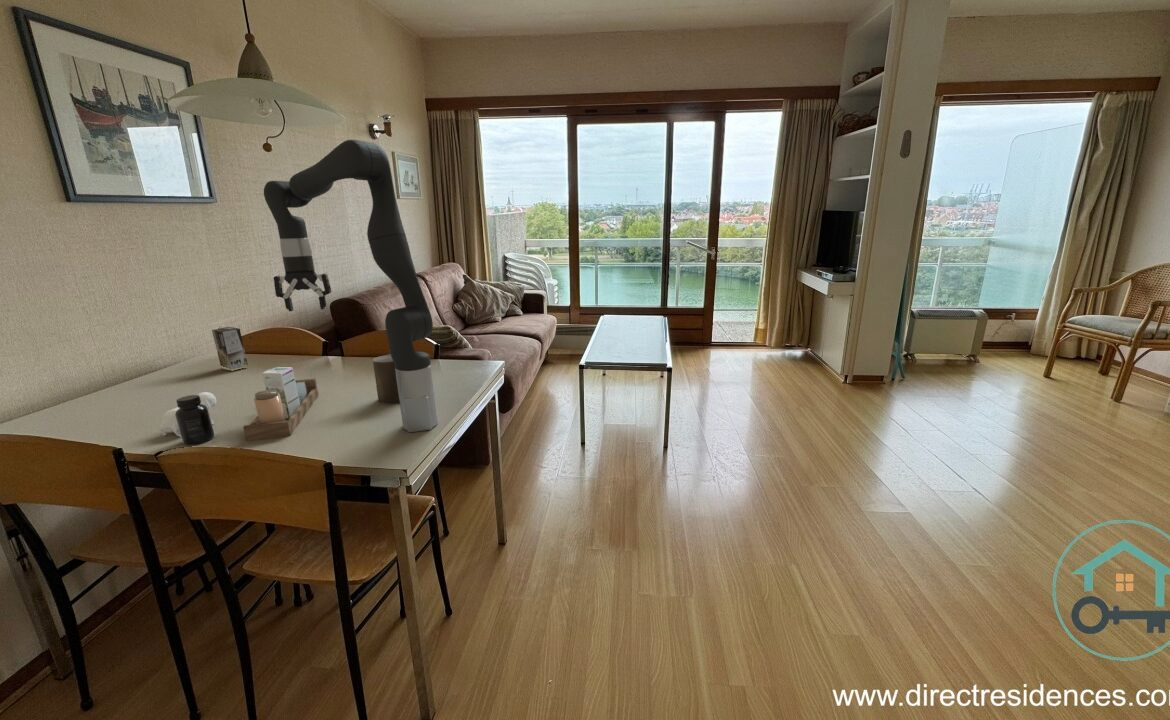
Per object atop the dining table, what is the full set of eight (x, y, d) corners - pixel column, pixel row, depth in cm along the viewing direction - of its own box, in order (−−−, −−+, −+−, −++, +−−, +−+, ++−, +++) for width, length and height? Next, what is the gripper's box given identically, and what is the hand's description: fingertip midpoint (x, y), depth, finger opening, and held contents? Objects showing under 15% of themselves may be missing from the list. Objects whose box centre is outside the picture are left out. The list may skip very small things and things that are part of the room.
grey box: (307, 404, 155) (303, 383, 153) (279, 407, 153) (275, 385, 151) (312, 397, 161) (308, 376, 159) (285, 399, 159) (281, 379, 157)
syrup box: (302, 412, 149) (293, 366, 145) (290, 419, 144) (280, 372, 140) (284, 411, 150) (275, 366, 146) (271, 419, 144) (261, 372, 140)
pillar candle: (405, 403, 154) (399, 357, 150) (373, 404, 154) (367, 358, 150) (414, 393, 163) (408, 349, 159) (384, 394, 163) (378, 350, 159)
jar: (284, 433, 134) (275, 394, 131) (259, 436, 133) (249, 397, 130) (289, 425, 140) (281, 387, 137) (265, 428, 138) (256, 390, 135)
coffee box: (249, 367, 196) (240, 328, 192) (231, 372, 191) (221, 331, 187) (238, 364, 201) (229, 326, 196) (220, 368, 196) (211, 329, 191)
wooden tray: (290, 435, 133) (286, 414, 131) (246, 440, 130) (241, 419, 129) (318, 395, 163) (315, 378, 161) (283, 399, 160) (279, 381, 159)
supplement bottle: (220, 433, 135) (210, 392, 132) (203, 445, 129) (191, 402, 125) (195, 434, 135) (184, 393, 132) (176, 446, 128) (164, 403, 125)
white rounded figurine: (192, 446, 135) (232, 408, 147) (173, 424, 130) (216, 386, 142) (167, 443, 137) (208, 406, 149) (147, 422, 132) (192, 385, 143)
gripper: (264, 256, 137) (276, 314, 141) (321, 254, 140) (330, 310, 145) (273, 254, 144) (284, 309, 148) (326, 252, 147) (335, 306, 152)
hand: (307, 309), depth 147 cm, fingers open, 8 cm apart
